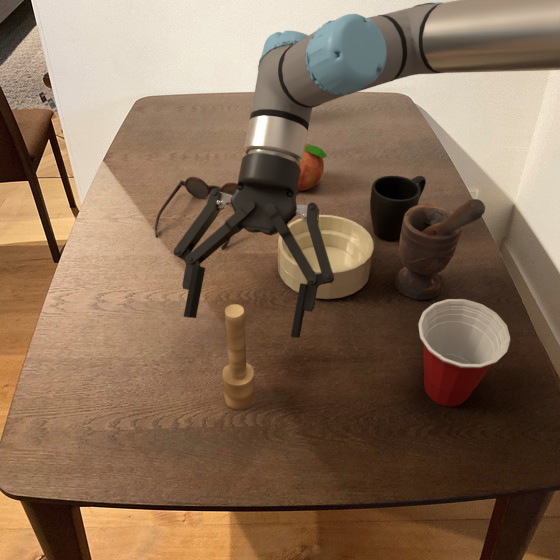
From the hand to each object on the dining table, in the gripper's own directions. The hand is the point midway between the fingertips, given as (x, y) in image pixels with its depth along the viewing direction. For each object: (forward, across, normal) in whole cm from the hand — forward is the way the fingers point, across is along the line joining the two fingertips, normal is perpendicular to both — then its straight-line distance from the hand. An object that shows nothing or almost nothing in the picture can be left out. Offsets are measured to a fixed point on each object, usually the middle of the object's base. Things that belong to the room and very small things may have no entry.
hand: (241, 327), depth 71 cm
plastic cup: (+4, -27, -12) cm, 29 cm away
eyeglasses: (-17, +18, -32) cm, 41 cm away
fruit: (-28, +4, -44) cm, 52 cm away
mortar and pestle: (-10, -23, -26) cm, 36 cm away
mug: (-21, -17, -37) cm, 46 cm away
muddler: (+9, 0, -6) cm, 11 cm away
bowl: (-11, -6, -26) cm, 29 cm away
